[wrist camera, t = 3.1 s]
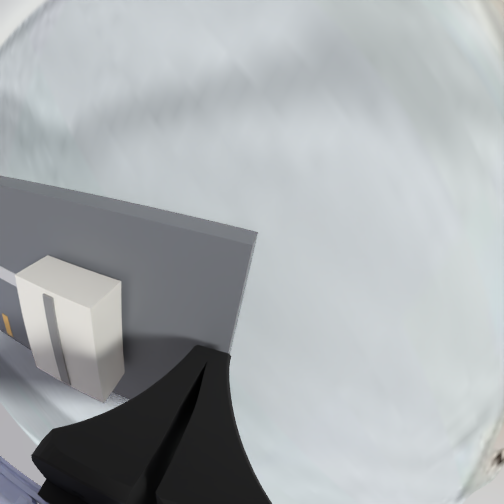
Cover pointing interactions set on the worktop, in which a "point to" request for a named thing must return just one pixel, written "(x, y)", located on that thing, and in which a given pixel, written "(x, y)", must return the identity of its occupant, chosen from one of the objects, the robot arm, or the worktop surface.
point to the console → (130, 270)
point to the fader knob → (73, 324)
